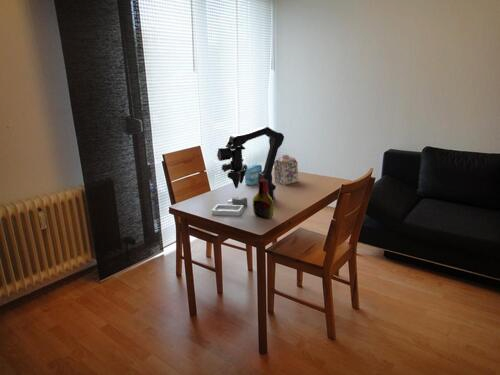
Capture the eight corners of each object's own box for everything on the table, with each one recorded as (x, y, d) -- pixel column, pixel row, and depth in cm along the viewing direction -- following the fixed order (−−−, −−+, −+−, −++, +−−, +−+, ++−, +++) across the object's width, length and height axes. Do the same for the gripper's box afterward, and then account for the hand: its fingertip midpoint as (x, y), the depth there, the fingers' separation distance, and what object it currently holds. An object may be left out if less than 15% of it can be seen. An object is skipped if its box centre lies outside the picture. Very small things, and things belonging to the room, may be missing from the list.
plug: (248, 204, 202) (247, 197, 201) (246, 206, 199) (246, 199, 197) (229, 203, 205) (229, 197, 203) (227, 205, 201) (227, 199, 200)
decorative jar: (288, 178, 247) (287, 152, 242) (298, 181, 238) (298, 155, 232) (273, 181, 242) (272, 155, 236) (283, 185, 232) (283, 158, 227)
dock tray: (243, 209, 194) (243, 205, 194) (239, 215, 186) (239, 211, 185) (217, 208, 198) (217, 204, 197) (212, 214, 190) (211, 210, 189)
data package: (250, 185, 235) (249, 168, 231) (245, 184, 238) (244, 167, 234) (262, 181, 243) (261, 164, 239) (257, 180, 246) (257, 163, 242)
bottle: (276, 216, 182) (275, 179, 176) (269, 221, 177) (267, 182, 171) (258, 212, 189) (256, 176, 183) (250, 216, 185) (248, 179, 179)
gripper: (228, 154, 204) (229, 180, 209) (217, 162, 187) (219, 190, 191) (246, 154, 201) (248, 180, 206) (237, 162, 184) (239, 191, 189)
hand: (238, 185), depth 198 cm, fingers open, 9 cm apart
